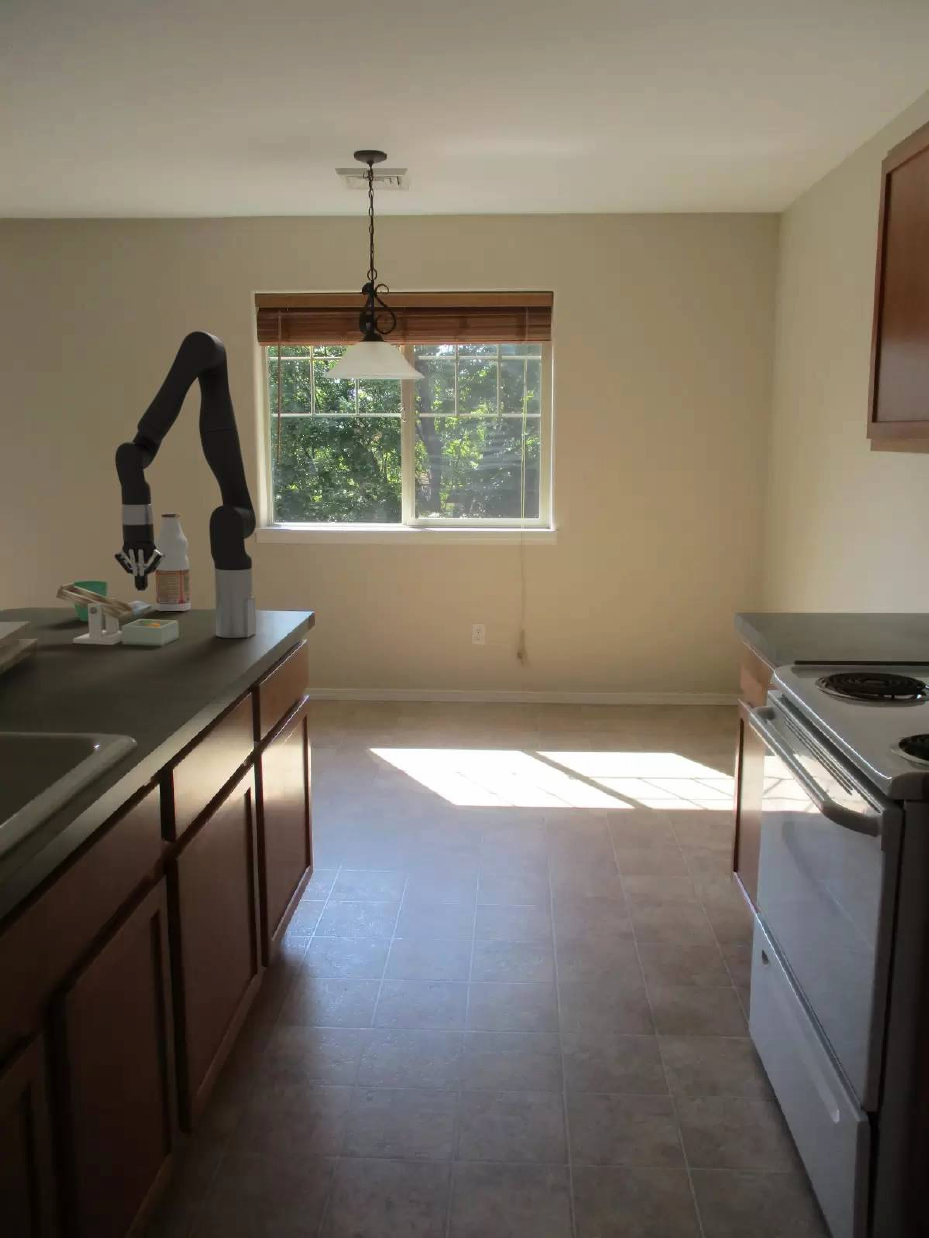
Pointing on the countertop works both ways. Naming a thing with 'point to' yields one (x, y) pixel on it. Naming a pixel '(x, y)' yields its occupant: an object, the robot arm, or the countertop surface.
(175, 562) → the fruit juice
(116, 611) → the lever
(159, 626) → the ball
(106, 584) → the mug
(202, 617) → the countertop surface
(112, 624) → the stand
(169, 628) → the pale green tray
